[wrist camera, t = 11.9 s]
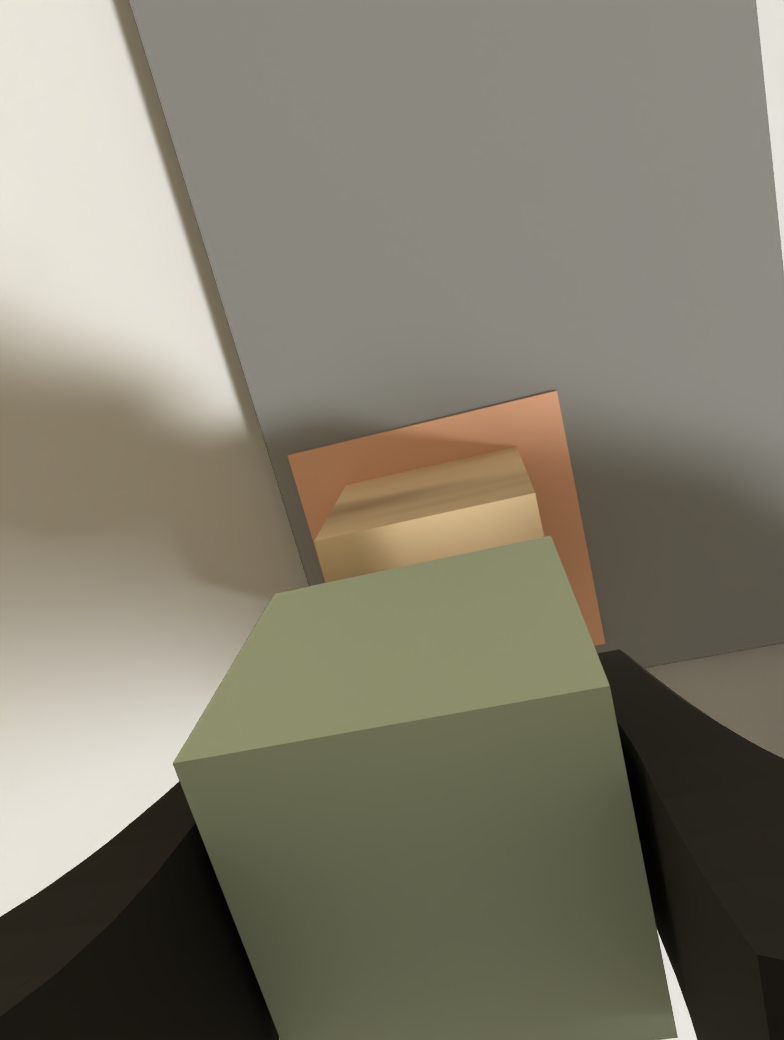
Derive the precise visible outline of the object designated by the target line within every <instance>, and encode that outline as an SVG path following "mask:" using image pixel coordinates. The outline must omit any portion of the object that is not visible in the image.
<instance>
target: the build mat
mask: <svg viewBox="0 0 784 1040" xmlns="http://www.w3.org/2000/svg"><path fill="white" fill-rule="evenodd" d="M129 2H130V5H131V8H132V12H133V15H134V18H135V21H136V25H137V28H138V31H139V34H140V38H141V41H142V44H143V47H144V51H145V54H146V57H147V60H148V64H149V67H150V70H151V73H152V77H153V80H154V83H155V86H156V90H157V93H158V96H159V99H160V103H161V106H162V109H163V112H164V116H165V119H166V122H167V125H168V129H169V132H170V135H171V138H172V142H173V145H174V148H175V151H176V155H177V158H178V161H179V164H180V168H181V171H182V174H183V177H184V181H185V184H186V187H187V190H188V194H189V197H190V200H191V203H192V207H193V210H194V213H195V216H196V220H197V223H198V226H199V229H200V233H201V236H202V239H203V242H204V246H205V249H206V252H207V255H208V259H209V262H210V265H211V268H212V272H213V275H214V278H215V281H216V285H217V288H218V291H219V294H220V298H221V301H222V304H223V307H224V311H225V314H226V317H227V320H228V324H229V327H230V330H231V333H232V337H233V340H234V343H235V346H236V350H237V353H238V356H239V359H240V363H241V366H242V369H243V372H244V376H245V379H246V382H247V385H248V389H249V392H250V395H251V398H252V402H253V405H254V408H255V411H256V415H257V418H258V421H259V424H260V428H261V431H262V434H263V437H264V441H265V444H266V447H267V450H268V454H269V457H270V460H271V463H272V467H273V470H274V473H275V476H276V480H277V483H278V486H279V489H280V493H281V496H282V499H283V502H284V506H285V509H286V512H287V515H288V519H289V522H290V525H291V528H292V532H293V535H294V538H295V541H296V545H297V548H298V551H299V554H300V558H301V561H302V564H303V567H304V571H305V574H306V577H307V580H308V584H309V586H313V585H318V584H323V583H326V579H325V576H324V573H323V569H322V566H321V563H320V559H319V556H318V553H317V549H316V546H315V543H314V541H315V539H316V537H317V535H318V533H319V532H320V530H321V528H322V526H323V525H324V523H325V521H326V519H327V518H328V516H329V514H330V512H331V511H332V509H333V507H334V505H335V503H336V502H337V500H338V498H339V496H340V495H341V493H342V491H343V489H344V488H345V486H346V485H349V484H354V483H358V482H362V481H367V480H371V479H375V478H380V477H384V476H388V475H393V474H397V473H402V472H406V471H410V470H415V469H419V468H423V467H428V466H432V465H436V464H441V463H445V462H450V461H454V460H458V459H463V458H467V457H471V456H476V455H480V454H484V453H489V452H493V451H497V450H502V449H506V448H511V447H515V446H517V448H518V451H519V453H520V456H521V458H522V461H523V463H524V466H525V468H526V471H527V473H528V476H529V478H530V481H531V483H532V486H533V489H534V491H535V494H536V499H537V504H538V509H539V514H540V519H541V523H542V528H543V533H544V537H546V536H551V537H552V540H553V542H554V545H555V547H556V550H557V552H558V555H559V557H560V560H561V563H562V565H563V568H564V570H565V573H566V575H567V578H568V580H569V583H570V585H571V588H572V591H573V593H574V596H575V598H576V601H577V603H578V606H579V608H580V611H581V614H582V616H583V619H584V621H585V624H586V626H587V629H588V631H589V634H590V637H591V639H592V642H593V644H594V647H595V649H596V652H597V653H602V652H607V651H613V650H618V649H620V650H621V651H623V652H624V653H626V654H627V655H629V656H630V657H631V658H632V659H633V660H635V661H636V662H637V663H638V664H639V665H641V666H642V667H643V668H647V667H653V666H658V665H664V664H669V663H675V662H680V661H686V660H692V659H697V658H703V657H708V656H714V655H719V654H725V653H730V652H736V651H741V650H747V649H752V648H758V647H764V646H769V645H775V644H780V643H784V270H783V260H782V250H781V241H780V231H779V221H778V211H777V202H776V192H775V182H774V172H773V163H772V153H771V143H770V133H769V124H768V114H767V104H766V94H765V85H764V75H763V65H762V55H761V46H760V36H759V26H758V16H757V6H756V0H129Z"/></svg>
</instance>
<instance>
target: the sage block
mask: <svg viewBox="0 0 784 1040" xmlns="http://www.w3.org/2000/svg"><path fill="white" fill-rule="evenodd" d="M173 765H174V768H175V770H176V773H177V776H178V778H179V781H180V783H181V786H182V788H183V791H184V794H185V796H186V799H187V801H188V804H189V806H190V809H191V812H192V814H193V817H194V819H195V822H196V824H197V827H198V829H199V832H200V835H201V837H202V840H203V842H204V845H205V847H206V850H207V853H208V855H209V858H210V860H211V863H212V865H213V868H214V870H215V873H216V876H217V878H218V881H219V883H220V886H221V888H222V891H223V894H224V896H225V899H226V901H227V904H228V906H229V909H230V912H231V914H232V917H233V919H234V922H235V924H236V927H237V929H238V932H239V935H240V937H241V940H242V942H243V945H244V947H245V950H246V953H247V955H248V958H249V960H250V963H251V965H252V968H253V971H254V973H255V976H256V978H257V981H258V983H259V986H260V988H261V991H262V994H263V996H264V999H265V1001H266V1004H267V1006H268V1009H269V1012H270V1014H271V1017H272V1019H273V1022H274V1024H275V1027H276V1030H277V1032H278V1035H279V1037H280V1040H660V1039H669V1038H678V1037H677V1032H676V1027H675V1021H674V1016H673V1011H672V1006H671V1001H670V996H669V990H668V985H667V980H666V975H665V970H664V964H663V959H662V954H661V949H660V944H659V938H658V933H657V928H656V923H655V918H654V913H653V907H652V902H651V897H650V892H649V887H648V881H647V876H646V871H645V866H644V861H643V855H642V850H641V845H640V840H639V835H638V829H637V824H636V819H635V814H634V809H633V804H632V798H631V793H630V788H629V783H628V778H627V772H626V767H625V762H624V757H623V752H622V746H621V741H620V736H619V731H618V726H617V721H616V715H615V710H614V705H613V700H612V695H611V689H610V685H609V682H608V680H607V677H606V675H605V672H604V670H603V667H602V665H601V662H600V660H599V657H598V654H597V652H596V649H595V647H594V644H593V642H592V639H591V637H590V634H589V631H588V629H587V626H586V624H585V621H584V619H583V616H582V614H581V611H580V608H579V606H578V603H577V601H576V598H575V596H574V593H573V591H572V588H571V585H570V583H569V580H568V578H567V575H566V573H565V570H564V568H563V565H562V563H561V560H560V557H559V555H558V552H557V550H556V547H555V545H554V542H553V540H552V537H551V536H546V537H541V538H536V539H532V540H527V541H522V542H517V543H513V544H508V545H503V546H499V547H494V548H489V549H484V550H480V551H475V552H470V553H465V554H461V555H456V556H451V557H446V558H442V559H437V560H432V561H427V562H423V563H418V564H413V565H408V566H404V567H399V568H394V569H389V570H385V571H380V572H375V573H370V574H366V575H361V576H356V577H351V578H347V579H342V580H337V581H332V582H328V583H323V584H318V585H313V586H309V587H304V588H299V589H294V590H290V591H285V592H280V593H275V594H274V595H273V597H272V599H271V600H270V602H269V604H268V605H267V607H266V609H265V610H264V612H263V614H262V615H261V617H260V619H259V620H258V622H257V624H256V625H255V627H254V629H253V630H252V632H251V634H250V635H249V637H248V639H247V640H246V642H245V644H244V645H243V647H242V649H241V650H240V652H239V654H238V655H237V657H236V659H235V660H234V662H233V664H232V665H231V667H230V669H229V670H228V672H227V674H226V675H225V677H224V679H223V680H222V682H221V684H220V685H219V687H218V689H217V690H216V692H215V694H214V696H213V697H212V699H211V701H210V702H209V704H208V706H207V707H206V709H205V711H204V712H203V714H202V716H201V717H200V719H199V721H198V722H197V724H196V726H195V727H194V729H193V731H192V732H191V734H190V736H189V737H188V739H187V741H186V742H185V744H184V746H183V747H182V749H181V751H180V752H179V754H178V756H177V757H176V759H175V761H174V762H173Z"/></svg>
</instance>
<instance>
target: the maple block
mask: <svg viewBox="0 0 784 1040" xmlns="http://www.w3.org/2000/svg"><path fill="white" fill-rule="evenodd" d="M541 537H544V533H543V528H542V523H541V519H540V514H539V509H538V504H537V499H536V494H535V491H534V489H533V486H532V483H531V481H530V478H529V476H528V473H527V471H526V468H525V466H524V463H523V461H522V458H521V456H520V453H519V451H518V448H517V446H515V447H511V448H506V449H502V450H497V451H493V452H489V453H484V454H480V455H476V456H471V457H467V458H463V459H458V460H454V461H450V462H445V463H441V464H436V465H432V466H428V467H423V468H419V469H415V470H410V471H406V472H402V473H397V474H393V475H388V476H384V477H380V478H375V479H371V480H367V481H362V482H358V483H354V484H349V485H346V486H345V488H344V489H343V491H342V493H341V495H340V496H339V498H338V500H337V502H336V503H335V505H334V507H333V509H332V511H331V512H330V514H329V516H328V518H327V519H326V521H325V523H324V525H323V526H322V528H321V530H320V532H319V533H318V535H317V537H316V539H315V541H314V543H315V546H316V549H317V553H318V556H319V559H320V563H321V566H322V569H323V573H324V576H325V579H326V583H328V582H332V581H337V580H342V579H347V578H351V577H356V576H361V575H366V574H370V573H375V572H380V571H385V570H389V569H394V568H399V567H404V566H408V565H413V564H418V563H423V562H427V561H432V560H437V559H442V558H446V557H451V556H456V555H461V554H465V553H470V552H475V551H480V550H484V549H489V548H494V547H499V546H503V545H508V544H513V543H517V542H522V541H527V540H532V539H536V538H541Z"/></svg>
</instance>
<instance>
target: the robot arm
mask: <svg viewBox="0 0 784 1040" xmlns="http://www.w3.org/2000/svg"><path fill="white" fill-rule="evenodd" d="M597 654H598V657H599V660H600V662H601V665H602V667H603V670H604V672H605V675H606V677H607V680H608V682H609V685H610V689H611V695H612V700H613V705H614V710H615V715H616V721H617V726H618V731H619V736H620V741H621V746H622V752H623V757H624V762H625V767H626V772H627V778H628V783H629V788H630V793H631V798H632V804H633V809H634V814H635V819H636V824H637V829H638V835H639V840H640V845H641V850H642V855H643V861H644V866H645V871H646V876H647V881H648V887H649V892H650V897H651V902H652V907H653V913H654V918H655V923H656V928H657V930H658V933H659V935H660V938H661V940H662V943H663V945H664V948H665V950H666V953H667V955H668V957H669V960H670V962H671V965H672V967H673V970H674V972H675V975H676V977H677V980H678V983H679V986H680V988H681V991H682V994H683V997H684V1000H685V1002H686V1005H687V1008H688V1011H689V1014H690V1017H691V1020H692V1023H693V1027H694V1030H695V1033H696V1037H697V1040H784V759H783V758H781V757H779V756H777V755H775V754H773V753H771V752H768V751H767V750H765V749H763V748H761V747H759V746H757V745H755V744H754V743H752V742H750V741H748V740H746V739H745V738H743V737H741V736H740V735H738V734H736V733H735V732H733V731H731V730H730V729H728V728H726V727H725V726H723V725H721V724H720V723H718V722H717V721H715V720H714V719H712V718H711V717H709V716H707V715H706V714H705V713H703V712H702V711H700V710H699V709H697V708H696V707H695V706H693V705H692V704H690V703H689V702H687V701H686V700H685V699H683V698H682V697H680V696H679V695H678V694H676V693H675V692H674V691H672V690H671V689H669V688H668V687H667V686H666V685H664V684H663V683H662V682H660V681H659V680H658V679H657V678H655V677H654V676H653V675H652V674H650V673H649V672H648V671H647V670H645V669H644V668H643V667H642V666H641V665H639V664H638V663H637V662H636V661H635V660H633V659H632V658H631V657H630V656H629V655H627V654H626V653H624V652H623V651H621V650H620V649H618V650H613V651H607V652H602V653H597ZM0 1040H279V1035H278V1032H277V1030H276V1027H275V1024H274V1022H273V1019H272V1017H271V1014H270V1012H269V1009H268V1006H267V1004H266V1001H265V999H264V996H263V994H262V991H261V988H260V986H259V983H258V981H257V978H256V976H255V973H254V971H253V968H252V965H251V963H250V960H249V958H248V955H247V953H246V950H245V947H244V945H243V942H242V940H241V937H240V935H239V932H238V929H237V927H236V924H235V922H234V919H233V917H232V914H231V912H230V909H229V906H228V904H227V901H226V899H225V896H224V894H223V891H222V888H221V886H220V883H219V881H218V878H217V876H216V873H215V870H214V868H213V865H212V863H211V860H210V858H209V855H208V853H207V850H206V847H205V845H204V842H203V840H202V837H201V835H200V832H199V829H198V827H197V824H196V822H195V819H194V817H193V814H192V812H191V809H190V806H189V804H188V801H187V799H186V796H185V794H184V791H183V788H182V786H181V783H180V781H179V782H178V783H177V784H176V785H175V786H174V787H173V788H171V789H170V790H169V791H168V792H167V793H166V794H165V795H164V796H162V797H161V798H160V799H159V800H158V801H157V802H155V803H154V804H153V805H152V806H151V807H149V808H148V809H147V810H146V811H145V812H144V813H142V814H141V815H140V816H139V817H138V818H136V819H135V820H134V821H133V822H132V823H131V824H129V825H128V826H127V827H126V828H125V829H123V830H122V831H121V832H120V833H119V834H117V835H116V836H115V837H114V838H113V839H111V840H110V841H109V842H108V843H106V844H105V845H104V846H102V847H101V848H100V849H99V850H97V851H96V852H95V853H93V854H92V855H91V856H89V857H88V858H87V859H85V860H84V861H83V862H81V863H80V864H79V865H77V866H76V867H74V868H73V869H72V870H70V871H69V872H67V873H66V874H65V875H63V876H62V877H60V878H59V879H58V880H56V881H55V882H53V883H52V884H51V885H49V886H48V887H46V888H45V889H43V890H42V891H40V892H39V893H37V894H36V895H34V896H33V897H31V898H30V899H28V900H26V901H25V902H23V903H22V904H20V905H18V906H17V907H15V908H14V909H12V910H11V911H9V912H7V913H6V914H4V915H3V916H1V917H0Z"/></svg>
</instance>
